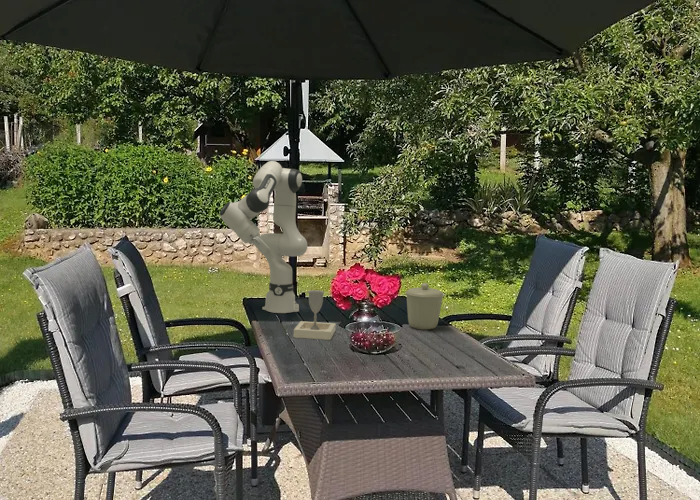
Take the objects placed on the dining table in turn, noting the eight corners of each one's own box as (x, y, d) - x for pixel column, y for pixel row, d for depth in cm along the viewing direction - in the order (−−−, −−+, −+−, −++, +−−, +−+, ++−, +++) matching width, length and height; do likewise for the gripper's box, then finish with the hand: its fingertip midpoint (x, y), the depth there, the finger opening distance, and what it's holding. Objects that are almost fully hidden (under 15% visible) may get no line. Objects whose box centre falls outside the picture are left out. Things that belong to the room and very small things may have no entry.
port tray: (300, 328, 311) (300, 321, 310) (335, 331, 309) (335, 323, 309) (293, 337, 295) (293, 329, 295) (330, 339, 293) (330, 331, 293)
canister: (400, 329, 316) (402, 284, 313) (406, 321, 333) (408, 278, 331) (439, 333, 312) (442, 287, 309) (444, 324, 329) (446, 281, 326)
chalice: (324, 330, 305) (325, 290, 303) (321, 334, 298) (323, 293, 296) (307, 329, 306) (309, 289, 304) (305, 333, 299) (306, 292, 297)
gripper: (257, 231, 288) (280, 254, 292) (253, 226, 308) (274, 248, 311) (246, 241, 288) (269, 264, 291) (242, 236, 307) (264, 258, 311)
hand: (271, 256), depth 301 cm, fingers open, 8 cm apart
